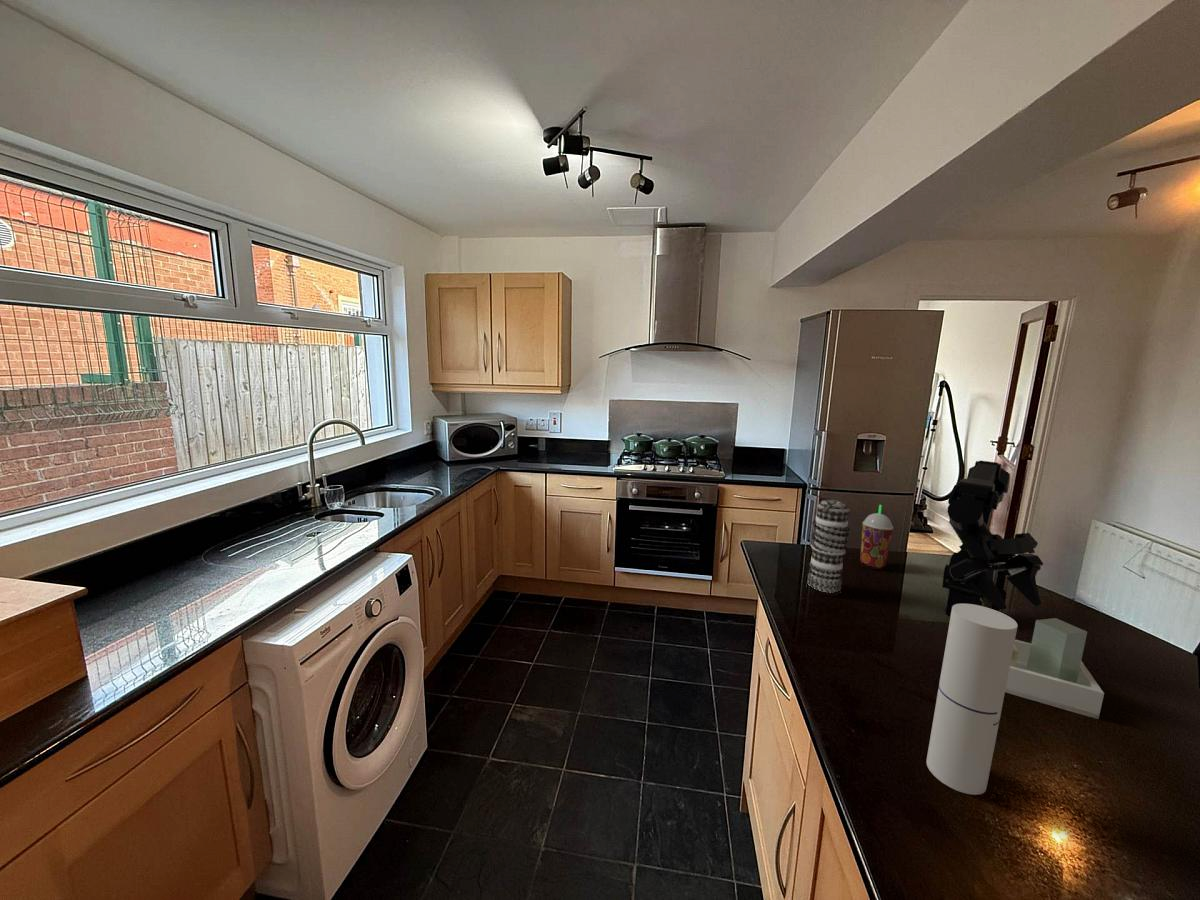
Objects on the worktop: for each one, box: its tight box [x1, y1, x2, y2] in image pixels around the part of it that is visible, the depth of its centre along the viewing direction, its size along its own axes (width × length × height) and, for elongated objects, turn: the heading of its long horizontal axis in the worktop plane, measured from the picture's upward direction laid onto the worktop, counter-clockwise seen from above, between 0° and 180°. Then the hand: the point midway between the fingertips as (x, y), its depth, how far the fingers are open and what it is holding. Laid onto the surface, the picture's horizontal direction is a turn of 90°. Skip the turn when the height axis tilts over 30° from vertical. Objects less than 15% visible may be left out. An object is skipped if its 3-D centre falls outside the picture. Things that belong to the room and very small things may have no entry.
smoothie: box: [859, 504, 894, 568], centre depth 147 cm, size 8×8×20 cm
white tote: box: [1005, 639, 1105, 720], centre depth 93 cm, size 18×14×5 cm
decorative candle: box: [806, 499, 851, 593], centre depth 128 cm, size 9×9×25 cm
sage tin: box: [1026, 617, 1088, 683], centre depth 89 cm, size 5×5×12 cm
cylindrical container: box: [926, 604, 1019, 796], centre depth 68 cm, size 7×7×25 cm
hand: (1021, 607), depth 94 cm, fingers open, 9 cm apart
